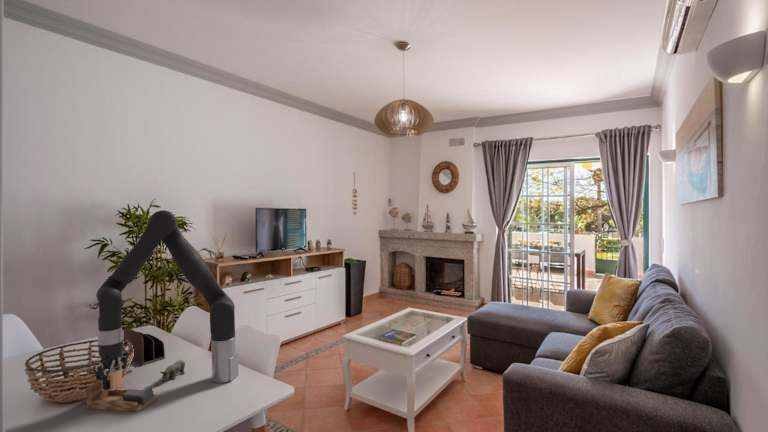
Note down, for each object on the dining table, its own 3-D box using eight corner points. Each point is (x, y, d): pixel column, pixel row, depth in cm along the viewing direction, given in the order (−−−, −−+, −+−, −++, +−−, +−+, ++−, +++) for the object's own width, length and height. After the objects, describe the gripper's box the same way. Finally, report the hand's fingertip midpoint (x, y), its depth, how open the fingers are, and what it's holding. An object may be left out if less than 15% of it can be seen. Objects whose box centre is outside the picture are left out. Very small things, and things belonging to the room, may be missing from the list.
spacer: (122, 384, 148) (122, 370, 147) (113, 390, 143) (112, 376, 143) (111, 384, 148) (111, 369, 148) (101, 389, 144) (101, 375, 143)
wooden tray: (156, 398, 149) (155, 378, 148) (138, 411, 140) (137, 390, 139) (107, 395, 151) (106, 375, 151) (87, 408, 142) (86, 387, 142)
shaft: (152, 397, 146) (152, 386, 146) (144, 404, 142) (143, 392, 142) (131, 396, 147) (131, 384, 147) (122, 402, 143) (122, 390, 143)
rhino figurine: (155, 385, 159) (154, 371, 158) (180, 370, 172) (179, 357, 172) (163, 387, 158) (163, 372, 157) (188, 371, 171) (187, 358, 171)
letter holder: (142, 366, 176) (140, 335, 176) (123, 355, 188) (121, 326, 187) (165, 358, 184) (164, 329, 184) (145, 348, 196) (144, 320, 195)
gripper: (104, 348, 137) (105, 396, 138) (134, 334, 151) (136, 377, 152) (84, 347, 138) (86, 395, 139) (116, 333, 152) (118, 376, 153)
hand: (112, 385), depth 146 cm, fingers closed on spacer, 4 cm apart
